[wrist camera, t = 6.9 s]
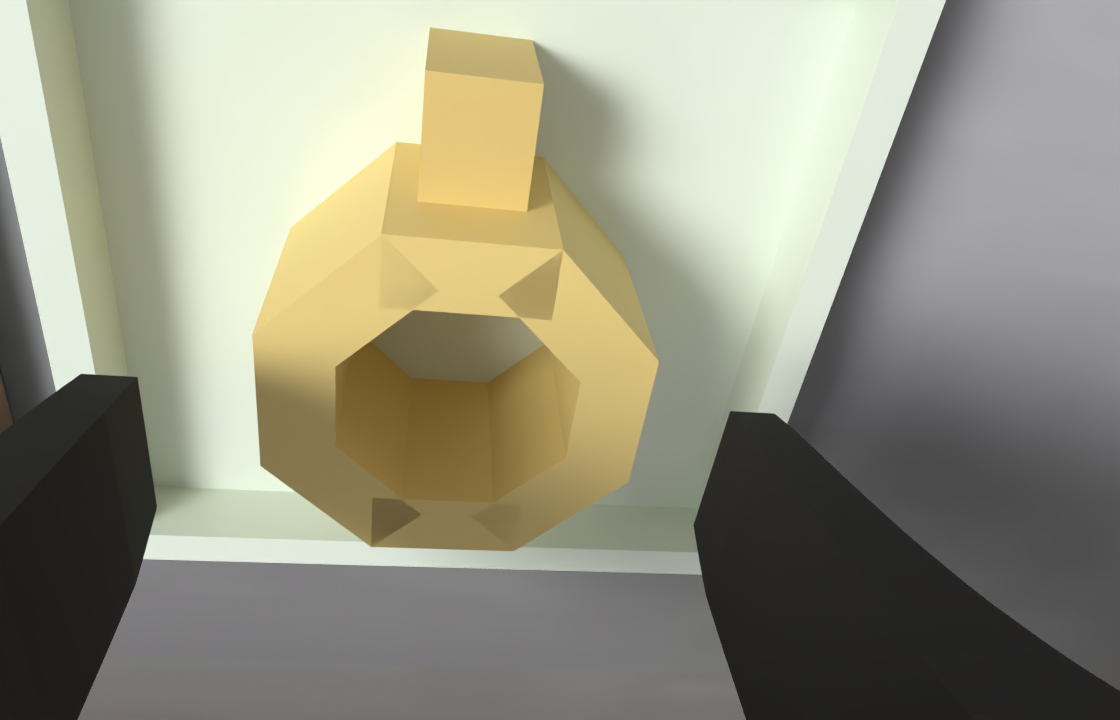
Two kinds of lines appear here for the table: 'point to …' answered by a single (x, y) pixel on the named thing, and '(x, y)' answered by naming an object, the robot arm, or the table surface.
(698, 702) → the table surface
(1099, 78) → the table surface
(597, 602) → the table surface
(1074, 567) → the table surface
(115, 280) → the tray
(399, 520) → the ring
